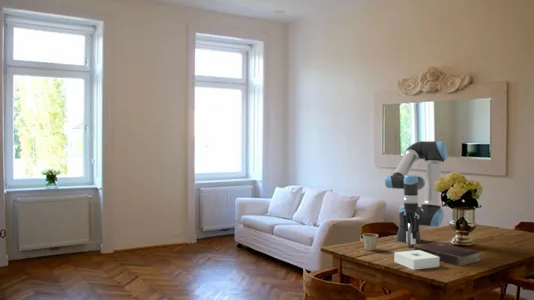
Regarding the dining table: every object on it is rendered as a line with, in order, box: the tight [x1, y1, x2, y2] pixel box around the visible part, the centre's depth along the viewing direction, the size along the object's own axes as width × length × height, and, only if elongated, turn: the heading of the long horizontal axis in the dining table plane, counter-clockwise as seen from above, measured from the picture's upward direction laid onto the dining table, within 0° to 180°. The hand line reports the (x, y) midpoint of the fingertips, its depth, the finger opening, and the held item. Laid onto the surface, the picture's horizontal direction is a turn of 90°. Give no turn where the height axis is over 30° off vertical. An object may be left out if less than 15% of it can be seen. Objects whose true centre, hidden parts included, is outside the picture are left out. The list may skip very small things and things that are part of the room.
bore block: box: [393, 249, 440, 271], centre depth 244 cm, size 16×16×5 cm
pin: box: [407, 223, 415, 250], centre depth 265 cm, size 3×3×14 cm
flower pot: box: [361, 233, 379, 251], centre depth 276 cm, size 9×9×9 cm
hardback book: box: [413, 241, 482, 266], centre depth 259 cm, size 29×19×5 cm, turn 34°
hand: (410, 243), depth 265 cm, fingers closed on pin, 3 cm apart
